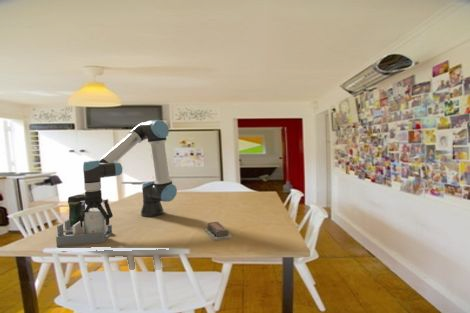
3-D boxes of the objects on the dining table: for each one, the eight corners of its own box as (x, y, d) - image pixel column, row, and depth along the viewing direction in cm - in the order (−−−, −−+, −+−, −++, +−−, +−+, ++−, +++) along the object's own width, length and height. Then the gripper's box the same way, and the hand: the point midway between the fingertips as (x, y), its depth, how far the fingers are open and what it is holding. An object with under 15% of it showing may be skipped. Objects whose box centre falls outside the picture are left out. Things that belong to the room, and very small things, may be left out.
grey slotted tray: (112, 233, 144) (111, 215, 143) (103, 242, 130) (102, 223, 129) (70, 236, 140) (69, 218, 140) (56, 246, 127) (55, 226, 126)
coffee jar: (77, 227, 157) (75, 196, 156) (66, 226, 159) (64, 196, 158) (89, 222, 166) (88, 193, 165) (79, 221, 168) (77, 193, 167)
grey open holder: (84, 234, 140) (83, 219, 139) (75, 241, 130) (74, 225, 129) (66, 235, 138) (65, 221, 138) (56, 243, 128) (55, 227, 128)
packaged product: (203, 222, 144) (220, 219, 148) (204, 230, 144) (220, 228, 148) (213, 232, 127) (232, 229, 131) (213, 241, 127) (232, 238, 131)
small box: (101, 232, 141) (99, 208, 140) (106, 234, 137) (104, 210, 136) (85, 236, 135) (83, 211, 134) (89, 239, 131) (88, 213, 130)
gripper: (117, 187, 140) (120, 228, 141) (73, 190, 137) (75, 231, 138) (113, 190, 133) (116, 232, 134) (66, 192, 129) (69, 236, 130)
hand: (95, 232), depth 136 cm, fingers closed on small box, 10 cm apart
